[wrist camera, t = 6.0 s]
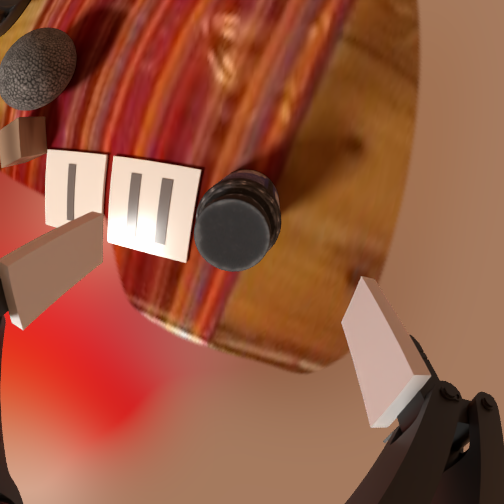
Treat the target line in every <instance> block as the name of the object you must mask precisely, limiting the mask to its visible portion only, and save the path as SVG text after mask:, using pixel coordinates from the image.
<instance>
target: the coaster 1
mask: <svg viewBox="0 0 504 504" xmlns="http://www.w3.org/2000/svg"><path fill="white" fill-rule="evenodd" d="M107 162H108V155H106V154H97V153H88V152H78V151H67V150H54V149H47V162H46V181H45V218H46V224H47V225H50V226H53V227H57V228H58V227H60V226H62V225H64V224H66V223H68V222H70V221H72V220H74V219H76V218H78V217H81V216H83V215H85V214H87V213H89V212H92V211H93V212H97V213H102V214H103V210H104V193H105V181H106V171H107Z"/></svg>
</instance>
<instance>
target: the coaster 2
mask: <svg viewBox="0 0 504 504" xmlns="http://www.w3.org/2000/svg"><path fill="white" fill-rule="evenodd" d="M201 172H202V169H196V168H191V167H186V166H180V165H174V164H168V163H162V162H156V161H150V160H143V159H136V158H129V157H122V156H114V157H113V166H112V175H111V185H110V197H109V214H108V242H109V243H113V244H116V245H120V246H124V247H127V248H131V249H135V250H139V251H142V252H146V253H150V254H154V255H158V256H161V257H165V258H169V259H173V260H177V261H181V262H185V263H186V262H187V258H188V250H189V243H190V237H191V230H192V224H193V217H194V211H195V205H196V199H197V194H198V188H199V182H200V177H201Z"/></svg>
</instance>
